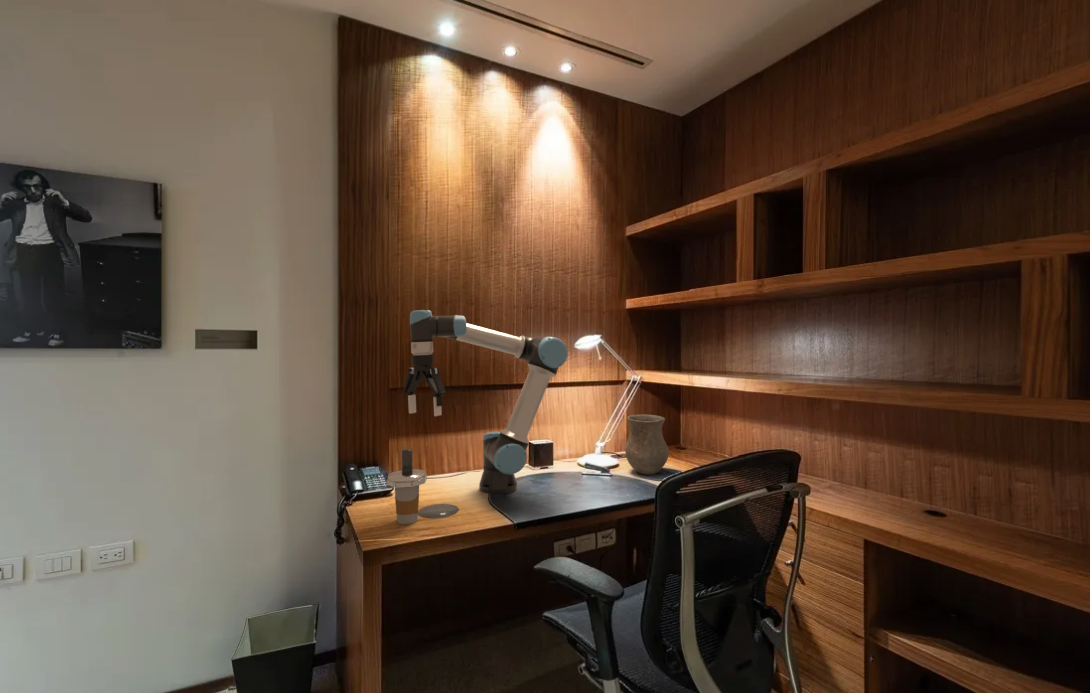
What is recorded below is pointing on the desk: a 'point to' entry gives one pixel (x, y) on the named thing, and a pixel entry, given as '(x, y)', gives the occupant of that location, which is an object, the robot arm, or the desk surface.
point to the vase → (646, 444)
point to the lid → (407, 473)
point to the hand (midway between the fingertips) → (424, 414)
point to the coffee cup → (407, 504)
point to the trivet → (438, 511)
